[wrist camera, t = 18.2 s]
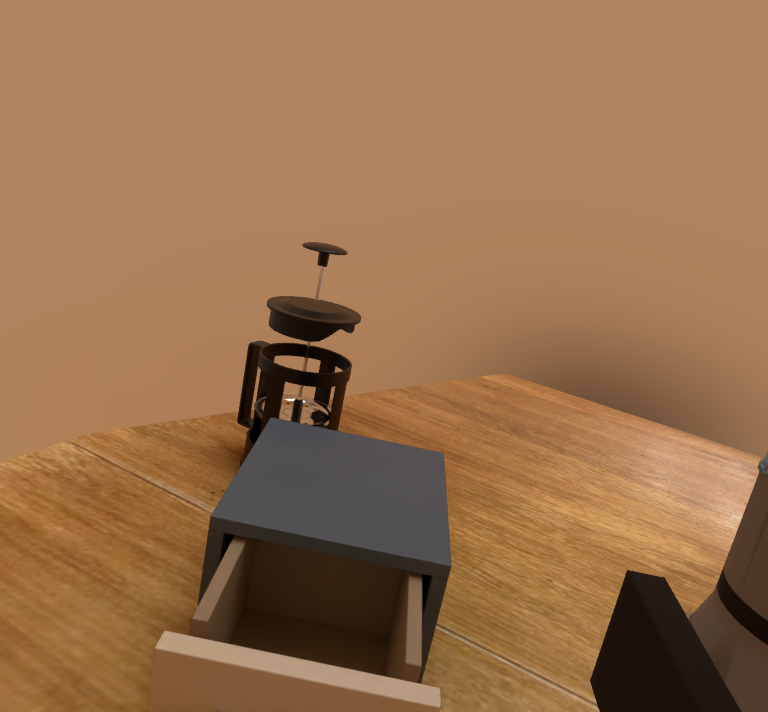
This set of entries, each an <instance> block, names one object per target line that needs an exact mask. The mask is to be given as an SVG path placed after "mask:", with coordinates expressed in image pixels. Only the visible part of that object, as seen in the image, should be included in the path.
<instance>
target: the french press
mask: <svg viewBox="0 0 768 712" xmlns="http://www.w3.org/2000/svg"><path fill="white" fill-rule="evenodd" d="M303 247H305V248H307V249H310V250H314V251H318V252H319V257H318V265H319V266H320V271H319V276H318V282H317V287H316V293H315V299H311V298H305V297H294V296H280V297H274V298H270V299H269V300H268V301H267V307H268V308H269V309H271V312H270V318H269V326H270V327H271V328H272V329H273V330H274V331H276V332H279V333H281V334H283V335H286V336H289V337H292V338H295V339H299V340H304V341H307V345H306V344H298V343H274V344H270V343H267V342H264V341H256V342H252V343H250V344H249V346H248V352H247V359H246V366H245V372H244V379H243V386H242V393H241V399H240V406H239V413H238V424H240V425H242V426H245V427H247V428H249V430H248V432H247V437H246V444H245V450H244V454H243V456H242V458H241V461H240V466H242V464H243V462H244V461H245V459H246V458H247V456H248V454H249V453H250V451H251V449H252V448H253V446H254V444H255V443H256V441H257V440H258V438H259V436H260V435H261V433H262V431H263V430H264V428H265V426H266V425H267V423H268V422H269V420H270V418H271V417H272V418H277V419H282V420H287V421H291V422H296V423H301V424H306V425H311V426H315V427H320V428H325V429H330V430H335V431H338V426H339V421H340V416H341V410H342V405H343V400H344V395H345V390H346V384H347V382H348V381H349V378H350V372H351V367H352V364H351V362H350V361H349V360H348V359H347V358H345V357H344V356H342V355H340V354H338V353H336V352H333V351H331V350H327V349H324V348H320V347H316V346H311V345H310V344H311V342H314V341H321V340H323V339H325V338H327V337H329V336H330V335H332V334H333V333H335V332H336V331H338V330H339V329H342V330H344V331H346V332H348V333H352V332H353V331H354V327H355V325H356V324H358V323H360V321H361V316H360V314H358V313H357V312H355V311H354V310H351V309H349V308H347V307H344V306H341V305H338V304H334V303H331V302H327V301H323V300H318V298H319V292H320V286H321V281H322V275H323V269H324V267H327V264H328V260H329V255H330V254H335V255H346V254H347V252H346V251H345V250H344V249H342V248H340V247H337V246H334V245H330V244H325V243H318V242H308V243H304V244H303ZM280 355H290V356H300V357H304V363H303V369H302V371H300V370H295V369H291V368H287V367H284V366H281V365H278V364H276V363H274V358H275V356H280ZM308 358H313V359H317V360H320V361H321V363H320V369H319V373H313V372H306V367H307V362H308ZM335 366H337V367H338V368H340V369H342V370H343V371H342V372H337V373H334V372H335ZM258 367H259V368H260V369H261V373H260V380H259V386H258V393H257V399H256V402H255V404H254V408H255V412H254V418H253V419H252V418H251V408H252V401H253V395H254V389H255V382H256V376H257V369H258ZM285 382H289V383H293V384H298V385H300V386H299V393H298V396H294V395H283V391H284V384H285ZM303 386H311V387H316V391H315V397H314V399H310V398H306V397H301V396H302V390H303ZM334 386H336V387H335V392H334V397H333V403H332V407H330V406H328V404H329V399H330V393H331V388H332V387H334Z"/></svg>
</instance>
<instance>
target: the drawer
mask: <svg viewBox="0 0 768 712" xmlns="http://www.w3.org/2000/svg"><path fill="white" fill-rule="evenodd" d="M421 667H422V574H420V573H416V572H411V571H406V570H401V569H396V568H392V567H387V566H382V565H377V564H372V563H368V562H363V561H358V560H353V559H348V558H343V557H339V556H334V555H329V554H324V553H319V552H315V551H310V550H305V549H300V548H295V547H291V546H286V545H281V544H276V543H271V542H267V541H262V540H257V539H252V538H247V537H243V536H238V535H234V537H233V539H232V541H231V543H230V545H229V547H228V549H227V551H226V553H225V555H224V557H223V559H222V561H221V563H220V565H219V566H218V568H217V570H216V572H215V574H214V576H213V578H212V580H211V582H210V584H209V586H208V588H207V590H206V592H205V594H204V596H203V598H202V599H201V601H200V603H199V605H198V607H197V609H196V611H195V613H194V615H193V617H192V620H191V627H190V634H189V636H188V635H183V634H178V633H174V632H169V631H164V632H163V634H162V636H161V637H160V639H159V641H158V643H157V645H156V646H155V649H154V657H153V665H152V673H151V681H150V689H149V696H148V704H147V712H440V709H441V697H440V688H438V687H433V686H428V685H423V684H419V683H418V679H419V675H420V671H421Z"/></svg>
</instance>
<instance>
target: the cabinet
mask: <svg viewBox="0 0 768 712" xmlns="http://www.w3.org/2000/svg"><path fill="white" fill-rule="evenodd" d="M234 535H238V536H243V537H247V538H252V539H257V540H262V541H267V542H271V543H276V544H281V545H286V546H291V547H295V548H300V549H305V550H310V551H315V552H319V553H324V554H329V555H334V556H339V557H343V558H348V559H353V560H358V561H363V562H368V563H372V564H377V565H382V566H387V567H392V568H396V569H401V570H406V571H411V572H416V573H420V574H422V667H421V671H420V675H419V679H418V683H419V684H421V682H422V678H423V674H424V670H425V666H426V662H427V659H428V655H429V651H430V647H431V643H432V639H433V635H434V631H435V627H436V624H437V620H438V616H439V612H440V608H441V604H442V600H443V596H444V593H445V589H446V585H447V581H448V577H449V573H450V569H451V555H450V540H449V524H448V509H447V494H446V479H445V463H444V453H441V452H436V451H431V450H426V449H421V448H417V447H412V446H407V445H402V444H397V443H393V442H388V441H383V440H378V439H373V438H368V437H364V436H359V435H354V434H349V433H344V432H340V431H335V430H330V429H325V428H320V427H315V426H311V425H306V424H301V423H296V422H291V421H287V420H282V419H277V418H272V417H271V418H270V420H269V422H268V423H267V425H266V426H265V428H264V430H263V431H262V433H261V435H260V436H259V438H258V440H257V441H256V443H255V444H254V446H253V448H252V449H251V451H250V453H249V454H248V456H247V458H246V459H245V461H244V462H243V464H242V466H241V467H240V469H239V471H238V472H237V474H236V476H235V477H234V479H233V480H232V482H231V484H230V485H229V487H228V489H227V490H226V492H225V493H224V495H223V497H222V498H221V500H220V502H219V503H218V505H217V507H216V508H215V510H214V511H213V513H212V515H211V517H210V523H209V530H208V537H207V544H206V551H205V558H204V565H203V572H202V579H201V586H200V593H199V600H198V605H199V603H200V601H201V599H202V598H203V596H204V594H205V592H206V590H207V588H208V586H209V584H210V582H211V580H212V578H213V576H214V574H215V572H216V570H217V568H218V566H219V565H220V563H221V561H222V559H223V557H224V555H225V553H226V551H227V549H228V547H229V545H230V543H231V541H232V539H233V537H234Z"/></svg>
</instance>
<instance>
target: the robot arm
mask: <svg viewBox="0 0 768 712" xmlns="http://www.w3.org/2000/svg"><path fill="white" fill-rule="evenodd" d="M758 469H759V471H760V472H759V475H758V477H757V480H756V483H755V485H754V488H753V491H752V493H751V496H750V499H749V501H748V504H747V506H746V509H745V512H744V514H743V517H742V520H741V522H740V525H739V528H738V530H737V533H736V536H735V538H734V541H733V544H732V546H731V549H730V551H729V554H728V557H727V559H726V562H725V564H724V567H723V570H722V572H721V575H720V578H719V580H718V583H717V585H716V588H715V590H714V591H713V593H712V594H711V595H710V596H709V597H708V598H707V599H706V600H705V601H704V602H703V603H702V604H701V605H700V607H699V608H698V609H697V610H696V611H695V612H694V613H693V614H692V615H691V616H690V614H691V609H690V610H689V611H688V613H687V614H685V612H684V611H683V609H682V607H681V605H680V604H679V602H678V600H677V599H676V597H675V595H674V593H673V592H672V590H671V588H670V586H669V585H668V583H667V581H666V579H665V578H664V577H659V576H654V575H649V574H644V573H639V572H634V571H629V570H627V572H626V575H625V578H624V581H623V584H622V587H621V590H620V593H619V596H618V599H617V602H616V605H615V608H614V611H613V614H612V617H611V620H610V623H609V626H608V629H607V632H606V635H605V638H604V641H603V644H602V647H601V650H600V653H599V656H598V659H597V662H596V665H595V668H594V671H593V674H592V677H591V680H590V683H591V686H592V689H593V692H594V695H595V698H596V701H597V705H598V708H599V711H600V712H768V452H767V454H766V456H765V457H764V458H763V459H761V461H760V462H759V465H758Z"/></svg>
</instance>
